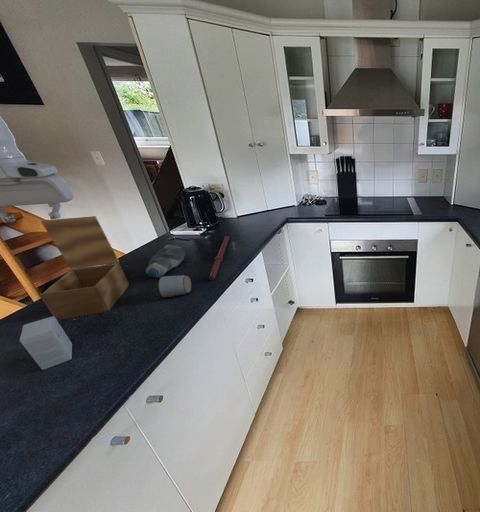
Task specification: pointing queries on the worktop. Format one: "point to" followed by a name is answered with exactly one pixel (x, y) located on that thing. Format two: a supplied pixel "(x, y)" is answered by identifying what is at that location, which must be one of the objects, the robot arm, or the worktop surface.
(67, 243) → the lid
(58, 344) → the small box
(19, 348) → the worktop surface
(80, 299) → the chest
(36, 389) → the worktop surface
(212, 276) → the rolling pin
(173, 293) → the grey cylinder
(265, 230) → the worktop surface
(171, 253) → the detergent
